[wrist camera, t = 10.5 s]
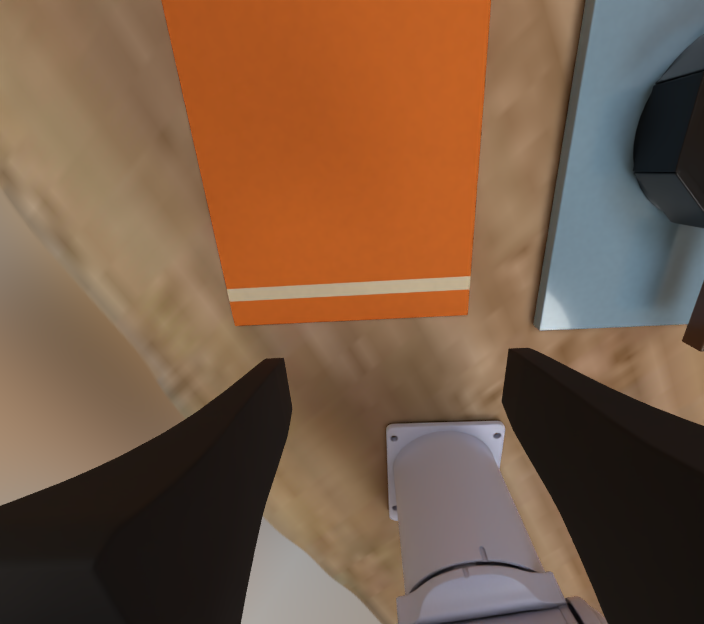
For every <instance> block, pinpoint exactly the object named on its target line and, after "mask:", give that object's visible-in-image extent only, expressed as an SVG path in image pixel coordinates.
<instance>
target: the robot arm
mask: <svg viewBox="0 0 704 624" xmlns="http://www.w3.org/2000/svg"><path fill="white" fill-rule="evenodd" d="M502 404H503V406H504V409H505V411H506V414H507V417H508V419H509V421H510V424H511V426H512V429H513V431H514V432H515V434H516V436H517V438H518V440H519V441H520V443H521V445H522V447H523V448H524V450H525V452H526V454H527V455H528V457H529V459H530V461H531V462H532V464H533V466H534V467H535V469H536V471H537V473H538V474H539V476H540V478H541V480H542V481H543V483H544V485H545V486H546V488H547V490H548V492H549V493H550V495H551V497H552V499H553V501H554V503H555V504H556V506H557V508H558V510H559V512H560V514H561V516H562V518H563V521H564V523H565V525H566V527H567V529H568V532H569V534H570V536H571V538H572V540H573V543H574V545H575V547H576V549H577V551H578V554H579V556H580V558H581V561H582V563H583V565H584V568H585V570H586V572H587V575H588V577H589V579H590V582H591V584H592V586H593V589H594V591H595V593H596V596H597V598H598V601H599V603H600V606H601V608H602V611H603V613H604V616H605V617H604V616H603V615H602V614H601V613H599V612H598V611H597V610H595V609H594V608H592V607H591V606H590V605H588V604H587V603H586V601H584V600H583V599H582V598H580V597H577V596H574V597H568V598H564V596H563V594H562V592H561V590H560V588H559V585H558V583H557V581H556V579H555V577H554V575H553V573H552V572H550V571H549V572H545V571H544V569H543V566H542V564H541V562H540V560H539V557H538V555H537V553H536V551H535V549H534V546H533V544H532V542H531V540H530V537H529V535H528V533H527V531H526V528H525V526H524V524H523V522H522V519H521V517H520V515H519V513H518V510H517V508H516V506H515V504H514V501H513V499H512V497H511V495H510V493H509V490H508V488H507V486H506V484H505V481H504V479H503V477H502V475H501V472H500V470H499V469H500V462H501V455H502V448H503V441H504V434H505V426H504V425H503V423H502V422H501V421H469V422H435V423H401V424H390V425H388V426H387V428H386V438H387V467H388V496H389V517H390V518H391V519H392V520H395V521H398V523H399V534H400V544H401V554H402V565H403V575H404V585H405V595H403V596H399V597H397V598H396V601H397V615H398V624H704V426H702V425H699V424H697V423H694V422H691V421H688V420H686V419H683V418H680V417H678V416H675V415H673V414H670V413H668V412H665V411H662V410H660V409H657V408H655V407H652V406H650V405H647V404H645V403H643V402H640V401H638V400H636V399H633V398H631V397H629V396H627V395H625V394H623V393H620V392H618V391H616V390H614V389H612V388H609V387H607V386H605V385H603V384H601V383H599V382H597V381H595V380H593V379H591V378H589V377H587V376H585V375H583V374H581V373H579V372H577V371H575V370H573V369H571V368H569V367H567V366H566V365H564V364H562V363H560V362H558V361H556V360H554V359H552V358H550V357H548V356H546V355H544V354H542V353H540V352H538V351H535V350H533V349H530V348H513V349H509V351H508V358H507V366H506V373H505V381H504V388H503V396H502ZM291 414H292V403H291V397H290V391H289V385H288V379H287V373H286V367H285V362H284V358H271V359H265V360H263V361H262V362H260V363H259V364H258V365H257V366H255V367H254V368H253V369H252V370H250V371H249V372H248V373H247V374H245V375H244V376H243V377H242V378H241V379H239V380H238V381H237V382H236V383H234V384H233V385H232V386H231V387H229V388H228V389H227V390H226V391H224V392H223V393H222V394H220V395H219V396H218V397H216V398H215V399H214V400H212V401H211V402H209V403H208V404H207V405H205V406H204V407H203V408H201V409H200V410H199V411H197V412H196V413H194V414H193V415H191V416H190V417H188V418H187V419H185V420H184V421H182V422H180V423H179V424H177V425H176V426H174V427H172V428H171V429H169V430H167V431H166V432H164V433H162V434H161V435H159V436H157V437H155V438H153V439H152V440H150V441H148V442H146V443H144V444H142V445H140V446H138V447H137V448H135V449H133V450H131V451H129V452H127V453H125V454H123V455H121V456H119V457H118V458H115V459H113V460H111V461H109V462H107V463H104V464H102V465H101V466H98V467H96V468H94V469H91V470H89V471H87V472H85V473H82V474H80V475H78V476H76V477H74V478H71V479H68V480H66V481H64V482H61V483H59V484H56V485H54V486H51V487H49V488H46V489H44V490H41V491H38V492H35V493H33V494H30V495H28V496H25V497H23V498H20V499H17V500H15V501H12V502H10V503H7V504H4V505H2V506H0V624H241V619H242V613H243V607H244V602H245V597H246V592H247V587H248V582H249V576H250V571H251V567H252V562H253V557H254V551H255V547H256V543H257V538H258V533H259V529H260V525H261V520H262V516H263V512H264V509H265V505H266V502H267V498H268V495H269V492H270V489H271V486H272V483H273V480H274V477H275V474H276V471H277V468H278V465H279V461H280V458H281V455H282V452H283V449H284V446H285V443H286V439H287V436H288V431H289V426H290V420H291ZM495 433H498V434H495ZM494 434H495V435H494ZM391 436H396V437H391ZM605 618H606V619H605Z"/></svg>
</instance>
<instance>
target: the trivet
mask: <svg viewBox="0 0 704 624" xmlns="http://www.w3.org/2000/svg"><path fill="white" fill-rule="evenodd" d="M703 34H704V0H586V1H585V7H584V13H583V20H582V26H581V32H580V38H579V44H578V51H577V57H576V63H575V69H574V75H573V82H572V88H571V94H570V100H569V106H568V113H567V119H566V125H565V131H564V137H563V144H562V150H561V156H560V162H559V168H558V175H557V181H556V187H555V193H554V199H553V206H552V212H551V218H550V224H549V230H548V237H547V243H546V249H545V255H544V261H543V267H542V274H541V280H540V286H539V292H538V298H537V305H536V311H535V317H534V323H533V325H534V326H535V327H536V328H537V329H538V330H539V331H543V330H566V329H588V328H611V327H634V326H657V325H679V324H688V323H689V320H690V317H691V314H692V312H693V309H694V306H695V303H696V300H697V298H698V295H699V292H700V289H701V287H702V284H703V281H704V228H698V227H693V226H687V225H682V224H676V223H673V222H670V220H669V219H668V218H667V216H666V215H665V214H664V212H663V211H661V210H659V209H658V208H657V207H655V206H654V205H653V204H652V203H651V202H650V201H649V200H648V199H647V198H646V197H645V195H644V193H643V192H642V190H641V189H640V186H639V184H638V182H637V179H636V176H635V175H634V174H633V173H634V171H633V167H634V163H633V146H634V139H635V134H636V129H637V126H638V122H639V119H640V116H641V114H642V111H643V109H644V106H645V104H646V102H647V100H648V98H649V96H650V94H651V93H652V89H653V86H654V85H656V84H655V82H656V81H658V80H659V79H660V78H661V77H662V75H663V74H664V73H665V71H666V70H667V69H668V68H669V66H670V65H671V64H672V63H673V61H674V60H675V59H676V58H677V57H678V56H679V55H680V54H681V53H682V52H683V51H684V50H685V49H686V48H687V47H688V46H689V45H691V44H692V43H693V42H694V41H695V40H696V39H697V38H699V37H700V36H701V35H703Z"/></svg>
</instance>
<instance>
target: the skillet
mask: <svg viewBox="0 0 704 624" xmlns="http://www.w3.org/2000/svg"><path fill="white" fill-rule="evenodd" d="M655 84H656V85H654V86H653V89H652V93H651V94H650V96H649V98H648V100H647V102H646V104H645V106H644V109H643V111H642V114H641V116H640V119H639V122H638V126H637V129H636V134H635V139H634V146H633V163H634V167H633V171H634V173H633V174H634V175H635V176H636V179H637V182H638V184H639V186H640V189H641V190H642V192H643V193H644V195H645V197H646V198H647V199H648V200H649V201H650V202H651V203H652V204H653V205H654V206H655V207H657V208H658V209H659V210H661V211H663V212H664V214H665V215H666V216H667V218H668V219H669V220H670V222H673V223H676V224H682V225H687V226H693V227H698V228H704V34H703V35H701V36H700V37H699V38H697V39H696V40H695V41H694V42H693V43H692V44H691V45H689V46H688V47H687V48H686V49H685V50H684V51H683V52H682V53H681V54H680V55H679V56H678V57H677V58H676V59H675V60H674V61H673V63H672V64H671V65H670V66H669V68H668V69H667V70H666V71H665V73H664V74H663V75H662V77H661V78H660V79H659V80H658V81H656V82H655ZM682 341H683V342H684V343H686V344H688V345H690V346H691V347H693V348H695V349H697V350H699V351H704V281H703V284H702V287H701V289H700V292H699V295H698V298H697V300H696V303H695V306H694V309H693V312H692V314H691V317H690V320H689V323H688V325H687V328H686V331H685V334H684V336H683V339H682Z"/></svg>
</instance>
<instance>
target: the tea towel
mask: <svg viewBox="0 0 704 624" xmlns="http://www.w3.org/2000/svg"><path fill="white" fill-rule="evenodd" d="M162 5H163V9H164V13H165V18H166V22H167V27H168V31H169V36H170V40H171V44H172V49H173V53H174V58H175V62H176V66H177V71H178V75H179V80H180V84H181V89H182V93H183V97H184V102H185V106H186V111H187V115H188V120H189V124H190V128H191V133H192V137H193V142H194V146H195V150H196V155H197V159H198V164H199V168H200V173H201V177H202V181H203V186H204V190H205V195H206V199H207V204H208V208H209V212H210V217H211V221H212V226H213V230H214V234H215V239H216V243H217V248H218V252H219V257H220V261H221V265H222V270H223V274H224V279H225V283H226V288H227V293H228V297H229V301H230V305H231V310H232V314H233V318H234V323H235V326H243V325H265V324H286V323H307V322H328V321H349V320H371V319H392V318H413V317H434V316H455V315H467V314H468V301H469V289H470V274H471V261H472V248H473V234H474V221H475V208H476V194H477V181H478V168H479V154H480V141H481V128H482V114H483V101H484V87H485V74H486V61H487V47H488V34H489V21H490V7H491V0H162Z"/></svg>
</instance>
